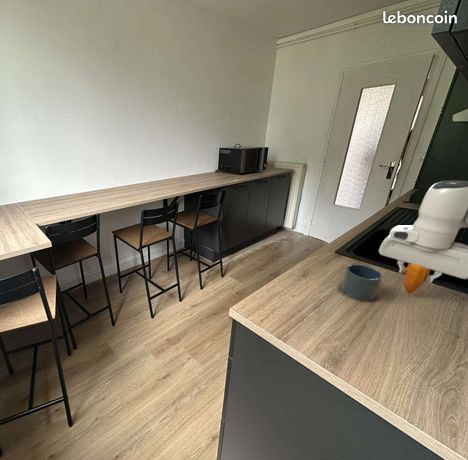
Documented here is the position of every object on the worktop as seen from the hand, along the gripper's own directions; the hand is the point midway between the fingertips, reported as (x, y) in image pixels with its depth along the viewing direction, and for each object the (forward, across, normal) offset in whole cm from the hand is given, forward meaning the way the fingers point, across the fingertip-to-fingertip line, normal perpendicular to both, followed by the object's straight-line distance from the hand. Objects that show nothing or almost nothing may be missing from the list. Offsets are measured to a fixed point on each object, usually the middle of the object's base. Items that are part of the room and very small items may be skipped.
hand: (414, 277), depth 78 cm
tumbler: (+7, +10, +10) cm, 16 cm away
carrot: (+6, 0, 0) cm, 6 cm away
